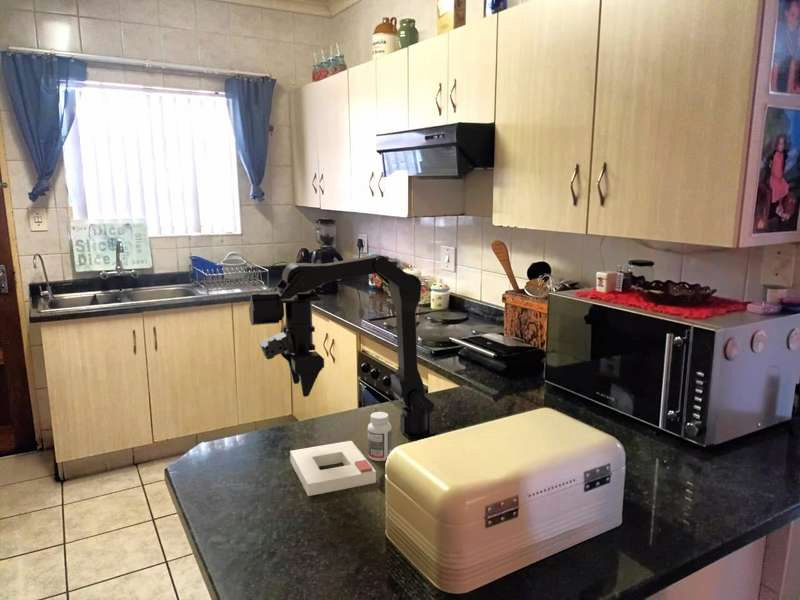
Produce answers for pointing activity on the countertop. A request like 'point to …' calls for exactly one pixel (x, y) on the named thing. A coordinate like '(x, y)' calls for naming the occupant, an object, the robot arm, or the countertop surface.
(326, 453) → the socket plate
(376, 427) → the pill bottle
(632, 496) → the countertop surface
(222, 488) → the countertop surface
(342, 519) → the countertop surface
